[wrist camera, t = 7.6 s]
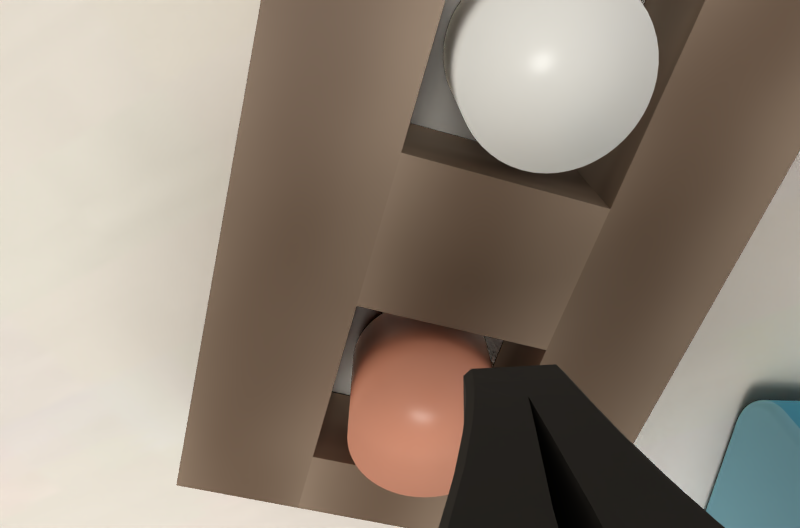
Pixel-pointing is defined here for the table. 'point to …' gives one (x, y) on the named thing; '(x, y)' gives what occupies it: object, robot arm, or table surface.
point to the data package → (761, 469)
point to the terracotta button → (410, 402)
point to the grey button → (551, 77)
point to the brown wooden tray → (467, 233)
